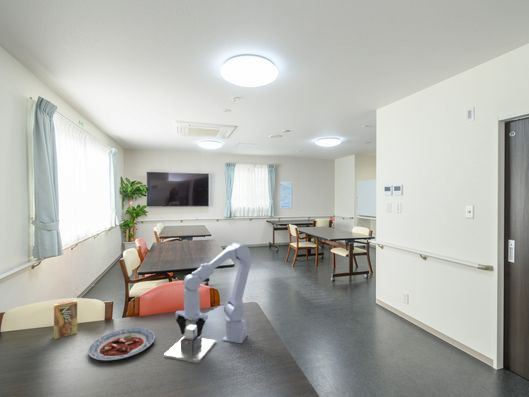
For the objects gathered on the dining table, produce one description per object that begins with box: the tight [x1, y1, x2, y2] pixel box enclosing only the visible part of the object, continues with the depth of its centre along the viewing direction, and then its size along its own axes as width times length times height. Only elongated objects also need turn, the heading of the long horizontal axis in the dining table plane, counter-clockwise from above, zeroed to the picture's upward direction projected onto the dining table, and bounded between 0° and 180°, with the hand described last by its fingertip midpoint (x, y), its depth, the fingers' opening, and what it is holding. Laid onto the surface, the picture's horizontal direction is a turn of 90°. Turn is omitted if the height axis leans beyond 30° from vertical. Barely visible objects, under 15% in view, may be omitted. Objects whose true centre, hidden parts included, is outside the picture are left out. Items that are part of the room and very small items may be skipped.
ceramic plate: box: [87, 327, 156, 361], centre depth 118 cm, size 26×26×3 cm
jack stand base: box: [163, 334, 217, 364], centre depth 116 cm, size 16×16×5 cm
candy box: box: [53, 299, 78, 340], centre depth 128 cm, size 9×4×15 cm, turn 129°
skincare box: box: [183, 289, 201, 321], centre depth 147 cm, size 8×6×15 cm
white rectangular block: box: [184, 324, 197, 341], centre depth 116 cm, size 4×4×8 cm
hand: (191, 334), depth 116 cm, fingers open, 7 cm apart
